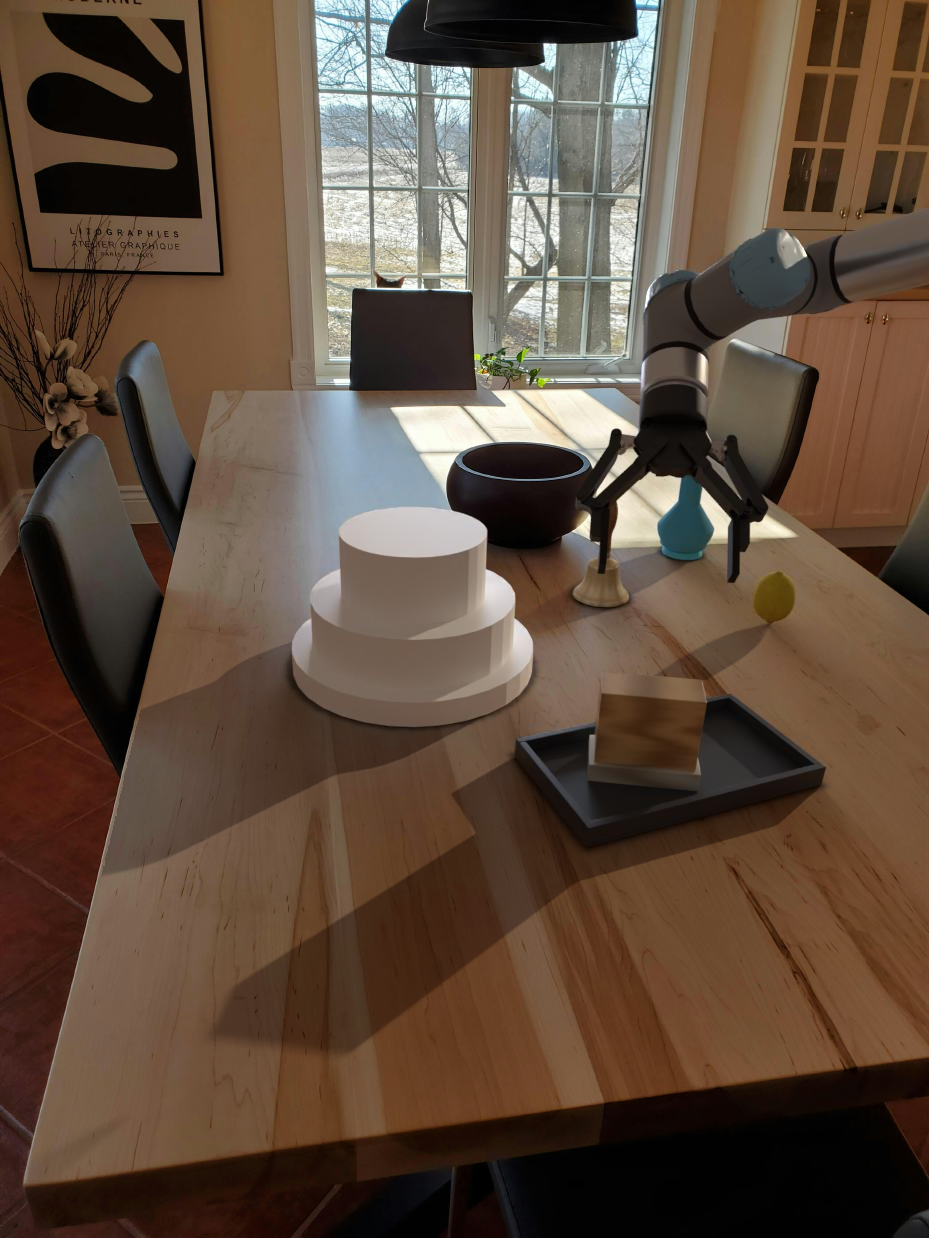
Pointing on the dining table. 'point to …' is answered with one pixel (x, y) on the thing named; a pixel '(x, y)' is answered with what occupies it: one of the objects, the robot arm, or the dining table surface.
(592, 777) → the eraser
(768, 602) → the lemon
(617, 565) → the hand bell
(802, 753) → the tray
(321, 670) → the cake
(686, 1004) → the dining table surface
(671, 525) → the perfume bottle
